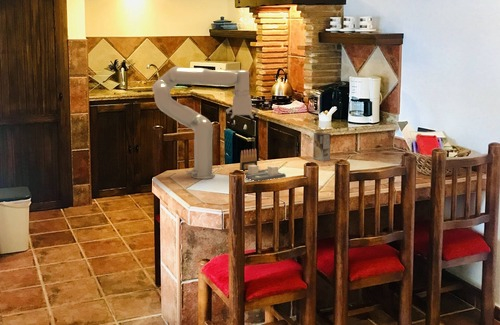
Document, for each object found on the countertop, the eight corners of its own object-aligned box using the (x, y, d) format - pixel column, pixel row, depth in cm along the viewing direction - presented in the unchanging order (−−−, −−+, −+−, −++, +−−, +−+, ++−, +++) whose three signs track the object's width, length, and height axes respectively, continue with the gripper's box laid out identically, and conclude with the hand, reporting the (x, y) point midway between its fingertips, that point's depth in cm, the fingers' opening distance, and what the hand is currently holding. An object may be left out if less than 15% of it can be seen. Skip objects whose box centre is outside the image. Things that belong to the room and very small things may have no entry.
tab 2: (271, 175, 350) (272, 167, 349) (267, 174, 353) (267, 166, 352) (277, 174, 352) (278, 166, 351) (273, 173, 355) (273, 165, 354)
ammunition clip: (241, 171, 365) (241, 150, 362) (239, 170, 366) (239, 149, 364) (257, 169, 370) (257, 148, 368) (255, 168, 372) (255, 147, 369)
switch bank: (254, 181, 342) (254, 178, 342) (240, 176, 354) (240, 173, 353) (285, 176, 353) (285, 173, 353) (270, 171, 364) (270, 168, 364)
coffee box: (330, 160, 395) (331, 133, 391) (322, 161, 391) (323, 135, 388) (320, 157, 402) (320, 131, 399) (312, 158, 398) (313, 132, 395)
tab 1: (252, 175, 351) (252, 166, 350) (247, 173, 354) (248, 165, 353) (258, 174, 353) (258, 165, 352) (254, 172, 356) (254, 164, 355)
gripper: (225, 94, 344) (225, 126, 348) (258, 94, 344) (258, 126, 348) (225, 92, 352) (226, 124, 355) (258, 92, 352) (258, 124, 355)
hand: (242, 125), depth 352 cm, fingers open, 9 cm apart
